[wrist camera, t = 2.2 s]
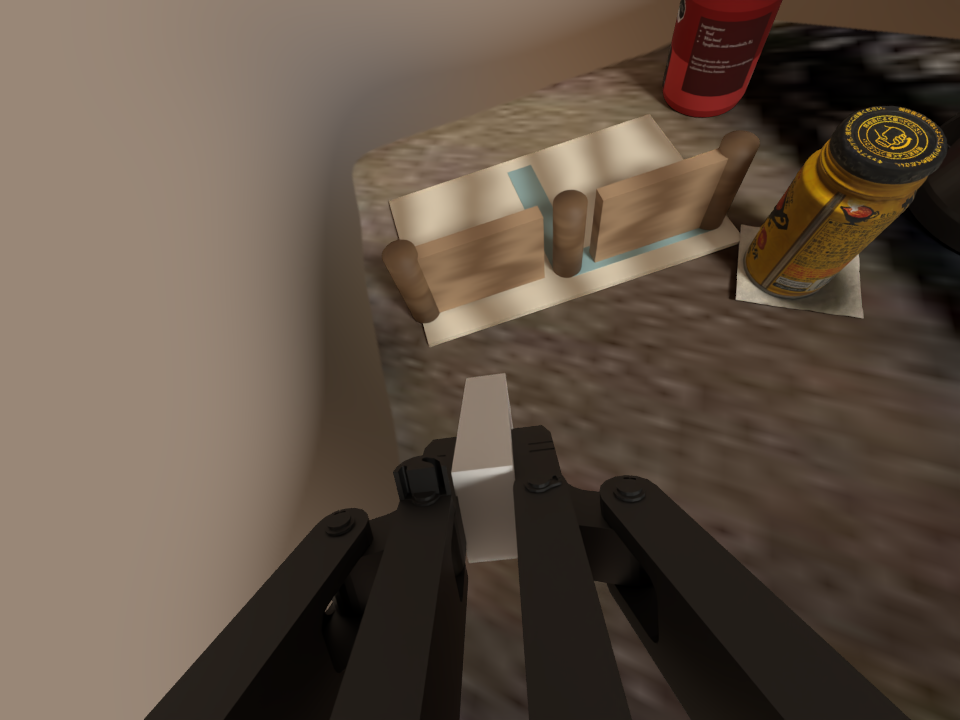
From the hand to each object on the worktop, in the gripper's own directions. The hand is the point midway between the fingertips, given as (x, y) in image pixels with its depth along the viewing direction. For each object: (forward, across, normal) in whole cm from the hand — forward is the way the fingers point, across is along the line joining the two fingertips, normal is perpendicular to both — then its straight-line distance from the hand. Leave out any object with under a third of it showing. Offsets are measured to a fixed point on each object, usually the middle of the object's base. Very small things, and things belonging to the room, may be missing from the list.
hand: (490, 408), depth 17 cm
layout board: (+27, -6, -6) cm, 28 cm away
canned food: (+36, -23, -15) cm, 45 cm away
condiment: (+20, -24, +1) cm, 31 cm away
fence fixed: (+23, -13, -3) cm, 27 cm away
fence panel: (+21, +1, -1) cm, 21 cm away
